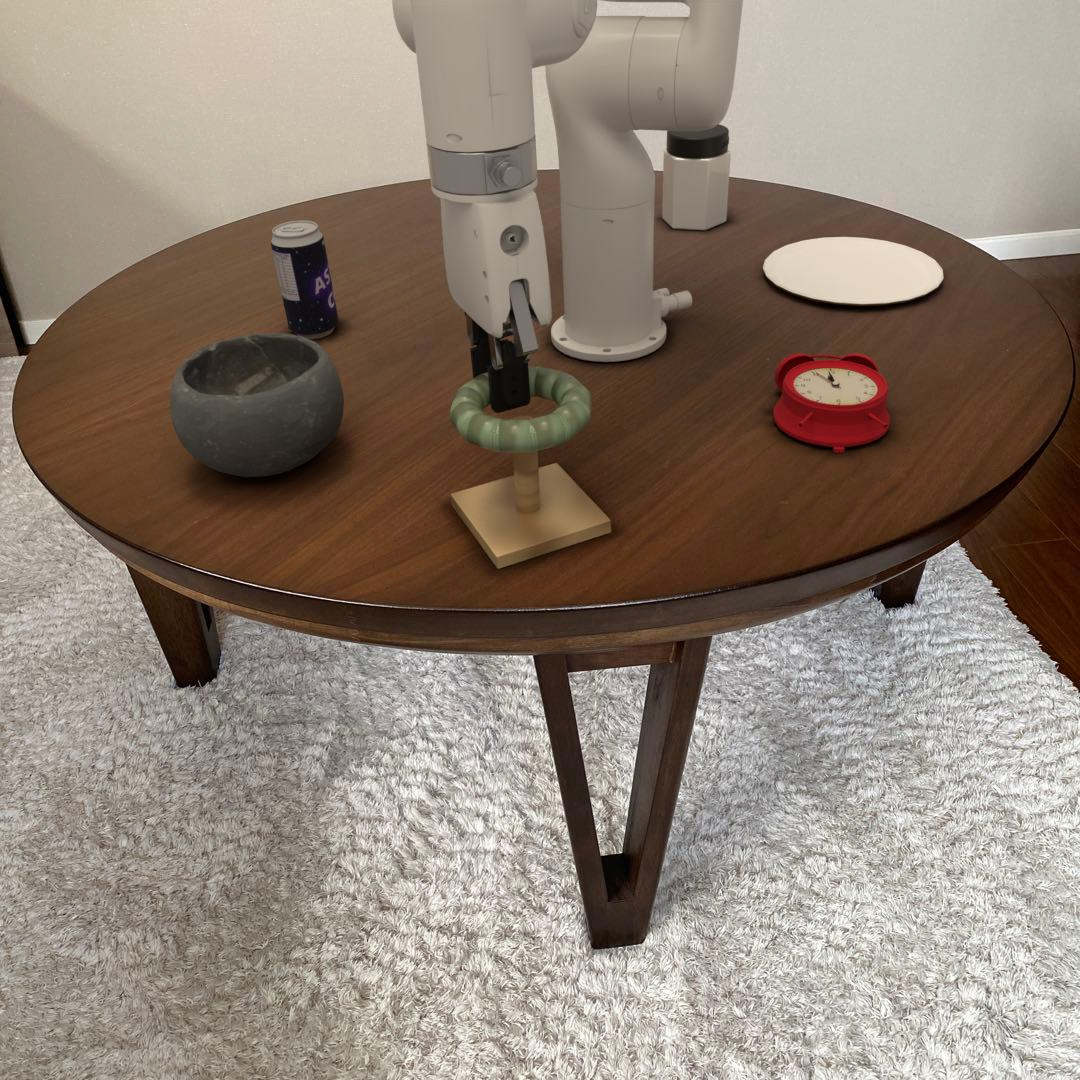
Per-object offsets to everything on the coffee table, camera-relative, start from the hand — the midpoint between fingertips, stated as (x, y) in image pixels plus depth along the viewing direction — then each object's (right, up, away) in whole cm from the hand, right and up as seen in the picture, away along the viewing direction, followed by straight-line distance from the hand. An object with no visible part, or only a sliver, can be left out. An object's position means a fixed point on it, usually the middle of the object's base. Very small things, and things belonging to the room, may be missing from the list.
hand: (502, 396), depth 81 cm
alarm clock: (+30, 0, +14) cm, 33 cm away
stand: (+2, -10, +2) cm, 10 cm away
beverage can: (-23, +12, +35) cm, 43 cm away
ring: (+2, -1, -4) cm, 4 cm away
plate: (+40, +20, +40) cm, 60 cm away
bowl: (-22, -4, +12) cm, 25 cm away
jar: (+24, +33, +58) cm, 71 cm away
